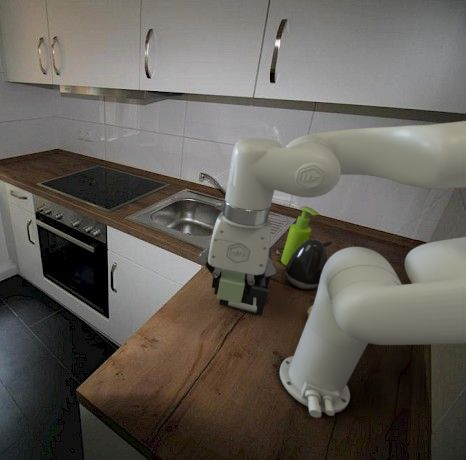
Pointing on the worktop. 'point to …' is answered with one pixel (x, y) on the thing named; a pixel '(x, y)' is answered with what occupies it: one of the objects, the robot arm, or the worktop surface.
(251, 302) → the black drawer with handle
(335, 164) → the robot arm
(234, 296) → the block
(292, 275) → the black rounded piece
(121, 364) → the worktop surface
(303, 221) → the soap dispenser
